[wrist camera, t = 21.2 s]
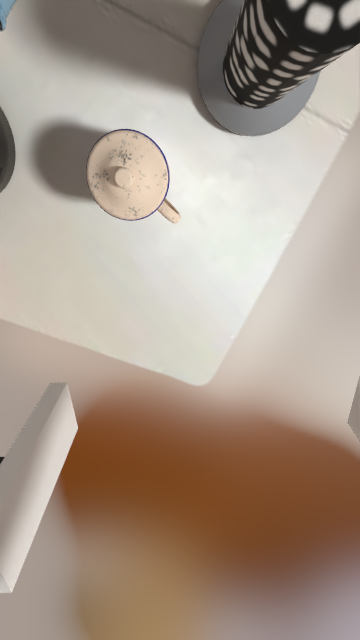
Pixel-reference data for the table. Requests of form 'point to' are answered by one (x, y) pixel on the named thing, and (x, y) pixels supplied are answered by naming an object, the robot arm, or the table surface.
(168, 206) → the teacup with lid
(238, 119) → the dish
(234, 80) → the white-spotted black cylinder
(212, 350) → the table surface
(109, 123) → the table surface
